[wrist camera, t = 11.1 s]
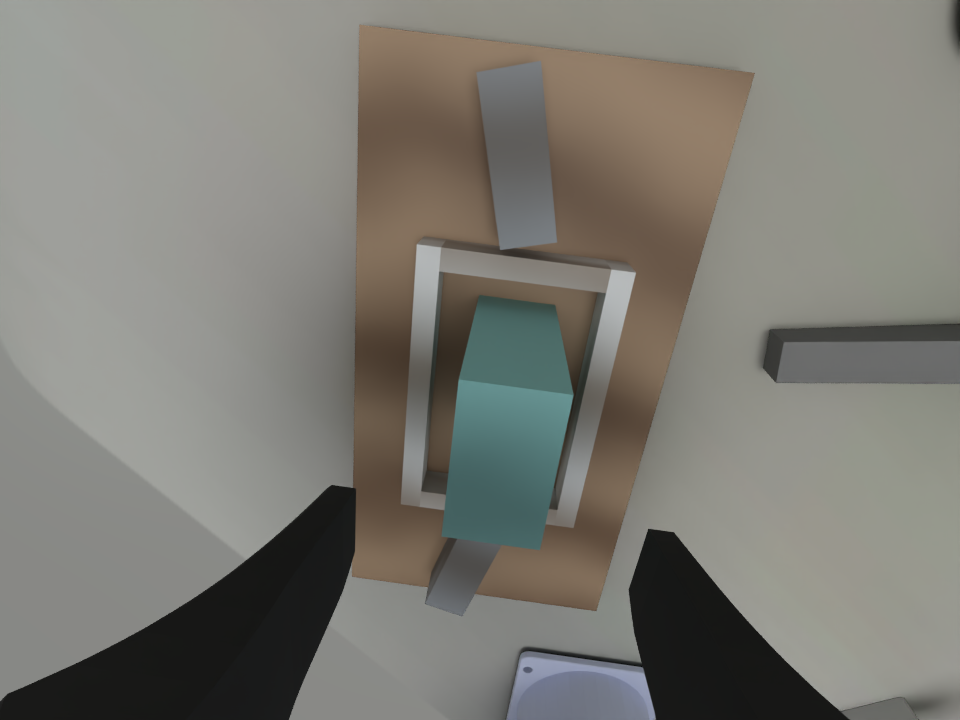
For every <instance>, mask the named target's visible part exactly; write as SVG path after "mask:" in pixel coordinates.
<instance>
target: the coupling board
mask: <svg viewBox="0 0 960 720" xmlns="http://www.w3.org/2000/svg"><path fill="white" fill-rule="evenodd" d="M754 74H755V73H750V72H742V71H733V70H725V69H717V68H709V67H701V66H692V65H684V64H676V63H668V62H660V61H652V60H643V59H635V58H627V57H619V56H611V55H602V54H594V53H586V52H578V51H570V50H562V49H553V48H545V47H537V46H529V45H521V44H512V43H504V42H496V41H488V40H480V39H471V38H463V37H455V36H447V35H439V34H431V33H422V32H414V31H406V30H398V29H390V28H381V27H373V26H365V25H360V31H359V105H358V178H357V252H356V325H355V399H354V473H353V488H356V530H355V553H354V557H353V560H352V577H358V578H366V579H373V580H380V581H387V582H394V583H401V584H408V585H415V586H422V587H428V591H427V596H426V601H425V604H427V605H430V606H433V607H436V608H439V609H442V610H445V611H448V612H450V613H453V614H456V615H459V616H463V614H464V613H465V611H466V609H467V607H468V605H469V603H470V602H471V600H472V598H473V596H474V594H479V595H486V596H493V597H500V598H507V599H514V600H521V601H528V602H536V603H543V604H550V605H557V606H564V607H571V608H578V609H585V610H592V611H596V610H597V607H598V603H599V600H600V596H601V593H602V590H603V586H604V583H605V579H606V576H607V573H608V569H609V566H610V563H611V559H612V556H613V552H614V549H615V546H616V542H617V539H618V535H619V532H620V529H621V525H622V522H623V518H624V515H625V512H626V508H627V505H628V501H629V498H630V495H631V491H632V488H633V485H634V481H635V478H636V474H637V471H638V468H639V464H640V461H641V457H642V454H643V451H644V447H645V444H646V440H647V437H648V434H649V430H650V427H651V423H652V420H653V417H654V413H655V410H656V406H657V403H658V400H659V396H660V393H661V390H662V386H663V383H664V379H665V376H666V373H667V369H668V366H669V362H670V359H671V356H672V352H673V349H674V345H675V342H676V339H677V335H678V332H679V328H680V325H681V322H682V318H683V315H684V311H685V308H686V305H687V301H688V298H689V295H690V291H691V288H692V284H693V281H694V278H695V274H696V271H697V267H698V264H699V261H700V257H701V254H702V250H703V247H704V244H705V240H706V237H707V233H708V230H709V227H710V223H711V220H712V217H713V213H714V210H715V206H716V203H717V200H718V196H719V193H720V189H721V186H722V183H723V179H724V176H725V172H726V169H727V166H728V162H729V159H730V155H731V152H732V149H733V145H734V142H735V138H736V135H737V132H738V128H739V125H740V122H741V118H742V115H743V111H744V108H745V105H746V101H747V98H748V94H749V91H750V88H751V84H752V81H753V77H754ZM479 295H484V296H491V297H499V298H506V299H514V300H522V301H529V302H537V303H544V304H552V305H555V306H556V311H557V316H558V321H559V326H560V331H561V336H562V340H563V345H564V350H565V355H566V360H567V365H568V370H569V375H570V380H571V385H572V390H573V400H572V405H571V409H570V414H569V418H568V423H567V428H566V432H565V437H564V441H563V446H562V451H561V455H560V460H559V464H558V469H557V474H556V478H555V483H554V487H553V492H552V497H551V501H550V506H549V510H548V515H547V520H546V524H545V529H544V533H543V538H542V543H541V547H540V550H534V549H527V548H520V547H513V546H506V545H498V544H491V543H484V542H477V541H470V540H463V539H456V538H449V537H442V527H443V518H444V509H445V500H446V491H447V482H448V473H449V463H450V454H451V445H452V436H453V427H454V418H455V409H456V400H457V391H458V382H459V376H460V372H461V368H462V364H463V360H464V356H465V352H466V348H467V344H468V339H469V335H470V331H471V327H472V323H473V319H474V315H475V311H476V307H477V303H478V298H479Z"/></svg>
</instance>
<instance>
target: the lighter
mask: <svg viewBox="0 0 960 720" xmlns="http://www.w3.org/2000/svg"><path fill="white" fill-rule="evenodd" d="M841 713H843V714H844V715H845V716H846V717H847V718H848V719H850V720H919V719H918V718H917V716H916V715H915V713H914V712H913V711H912V709H911V708H910V706H909V705H908V703H907V702H906V700H905V699H904V698H901V697H898V698H894V699H890V700H886V701H882V702H878V703H874V704H870V705H866V706H862V707H858V708H854V709H850V710H846V711H842V712H841Z"/></svg>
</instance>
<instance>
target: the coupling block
mask: <svg viewBox="0 0 960 720" xmlns="http://www.w3.org/2000/svg"><path fill="white" fill-rule="evenodd" d="M572 400H573V390H572V385H571V380H570V375H569V370H568V365H567V360H566V355H565V350H564V345H563V340H562V336H561V331H560V326H559V321H558V316H557V311H556V306H555V305H552V304H544V303H537V302H529V301H522V300H514V299H506V298H499V297H491V296H484V295H479V298H478V303H477V307H476V311H475V315H474V319H473V323H472V327H471V331H470V335H469V339H468V344H467V348H466V352H465V356H464V360H463V364H462V368H461V372H460V376H459V382H458V391H457V400H456V409H455V418H454V427H453V436H452V445H451V454H450V463H449V473H448V482H447V491H446V500H445V509H444V518H443V527H442V537H449V538H456V539H463V540H470V541H477V542H484V543H491V544H498V545H506V546H513V547H520V548H527V549H534V550H540V547H541V543H542V538H543V533H544V529H545V524H546V520H547V515H548V510H549V506H550V501H551V497H552V492H553V487H554V483H555V478H556V474H557V469H558V464H559V460H560V455H561V451H562V446H563V441H564V437H565V432H566V428H567V423H568V418H569V414H570V409H571V405H572Z"/></svg>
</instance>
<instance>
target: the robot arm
mask: <svg viewBox="0 0 960 720" xmlns="http://www.w3.org/2000/svg"><path fill="white" fill-rule="evenodd" d="M355 530H356V488H349V487H342V486H335V485H331V486H330V487H328V488H327V489H326V490H325V491H324V492H323V493H322V494H321V495H320V496H319V497H318V498H317V499H316V500H315V501H314V502H313V503H312V504H310V505H309V506H308V507H307V508H306V509H305V510H304V511H303V512H302V513H301V514H300V515H299V516H298V517H297V518H296V519H294V520H293V521H292V522H291V523H290V524H289V525H288V526H287V527H285V528H284V529H283V530H282V531H281V532H280V533H279V534H278V535H276V536H275V537H274V538H273V539H272V540H271V541H270V542H268V543H267V544H266V545H265V546H264V547H262V548H261V549H260V550H259V551H257V552H256V553H255V554H254V555H252V556H251V557H250V558H249V559H247V560H246V561H245V562H244V563H242V564H241V565H240V566H238V567H237V568H236V569H235V570H233V571H232V572H231V573H229V574H228V575H227V576H225V577H224V578H223V579H221V580H220V581H218V582H217V583H215V584H214V585H213V586H211V587H210V588H208V589H207V590H205V591H204V592H203V593H201V594H199V595H198V596H197V597H195V598H193V599H192V600H191V601H189V602H187V603H185V604H184V605H182V606H181V607H179V608H178V609H176V610H174V611H173V612H171V613H169V614H168V615H166V616H165V617H163V618H161V619H159V620H158V621H156V622H154V623H153V624H151V625H149V626H148V627H146V628H144V629H142V630H141V631H139V632H137V633H135V634H134V635H131V636H129V637H128V638H126V639H124V640H122V641H120V642H118V643H116V644H114V645H112V646H111V647H109V648H107V649H105V650H103V651H101V652H99V653H97V654H95V655H93V656H91V657H89V658H87V659H84V660H82V661H81V662H79V663H76V664H74V665H72V666H70V667H68V668H66V669H63V670H61V671H59V672H57V673H54V674H52V675H50V676H47V677H45V678H43V679H41V680H38V681H36V682H34V683H32V684H30V685H27V686H25V687H23V688H21V689H18V690H16V691H14V692H11V693H9V694H7V695H6V696H5V697H4V698H3V699H2V700H1V701H0V720H289V717H290V715H291V711H292V709H293V705H294V703H295V700H296V698H297V695H298V693H299V690H300V688H301V685H302V683H303V680H304V678H305V676H306V674H307V671H308V669H309V667H310V664H311V662H312V660H313V658H314V656H315V653H316V651H317V649H318V646H319V644H320V642H321V640H322V637H323V635H324V633H325V631H326V628H327V626H328V624H329V622H330V619H331V617H332V615H333V612H334V610H335V608H336V606H337V603H338V601H339V599H340V596H341V594H342V592H343V589H344V586H345V583H346V579H347V576H348V573H349V570H350V567H351V563H352V560H353V557H354V553H355ZM629 596H630V604H631V613H632V620H633V627H634V633H635V637H636V642H637V646H638V650H639V654H640V658H641V662H642V666H643V667H637V666H630V665H623V664H616V663H609V662H602V661H595V660H588V659H581V658H574V657H567V656H560V655H553V654H546V653H539V652H532V651H526V652H523V653H522V654H521V655H520V658H519V663H518V667H517V672H516V676H515V681H514V685H513V690H512V695H511V699H510V704H509V708H508V713H507V717H506V720H654V719H655V716H656V720H850V719H848V718H847V717H846V716H845V715H844V714H843V713H841V712H840V711H839V710H838V709H837V708H836V707H834V706H833V705H832V704H831V703H830V702H829V701H828V700H826V699H825V698H824V697H823V696H822V695H821V694H820V693H819V692H818V691H816V690H815V689H814V688H813V687H812V686H811V685H810V684H809V683H808V682H807V681H806V680H805V679H804V678H803V677H802V676H801V675H800V674H799V673H797V672H796V671H795V670H794V669H793V668H792V667H791V666H790V665H789V664H788V663H787V662H786V661H785V660H784V659H783V658H782V657H781V656H780V655H779V654H778V653H777V652H776V651H775V650H774V649H773V648H772V647H771V646H770V645H769V644H768V643H767V641H766V640H765V639H764V638H763V637H762V636H761V635H760V634H759V633H758V632H757V631H756V630H755V629H754V628H753V626H752V625H751V624H750V623H749V622H748V621H747V620H746V619H745V618H744V617H743V615H742V614H741V613H740V612H739V611H738V610H737V609H736V607H735V606H734V605H733V604H732V603H731V602H730V601H729V599H728V598H727V597H726V596H725V595H724V593H723V592H722V591H721V590H720V589H719V587H718V586H717V585H716V584H715V583H714V581H713V580H712V579H711V578H710V577H709V575H708V574H707V573H706V572H705V570H704V569H703V568H702V567H701V565H700V564H699V563H698V562H697V561H696V559H695V558H694V557H693V556H692V554H691V553H690V552H689V551H688V549H687V548H686V547H685V546H684V544H683V543H682V542H681V541H680V539H679V538H678V537H677V536H676V535H675V533H674V532H668V531H660V530H653V529H648V532H647V535H646V538H645V541H644V544H643V547H642V550H641V554H640V557H639V560H638V563H637V566H636V569H635V572H634V575H633V578H632V581H631V584H630V587H629Z"/></svg>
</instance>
